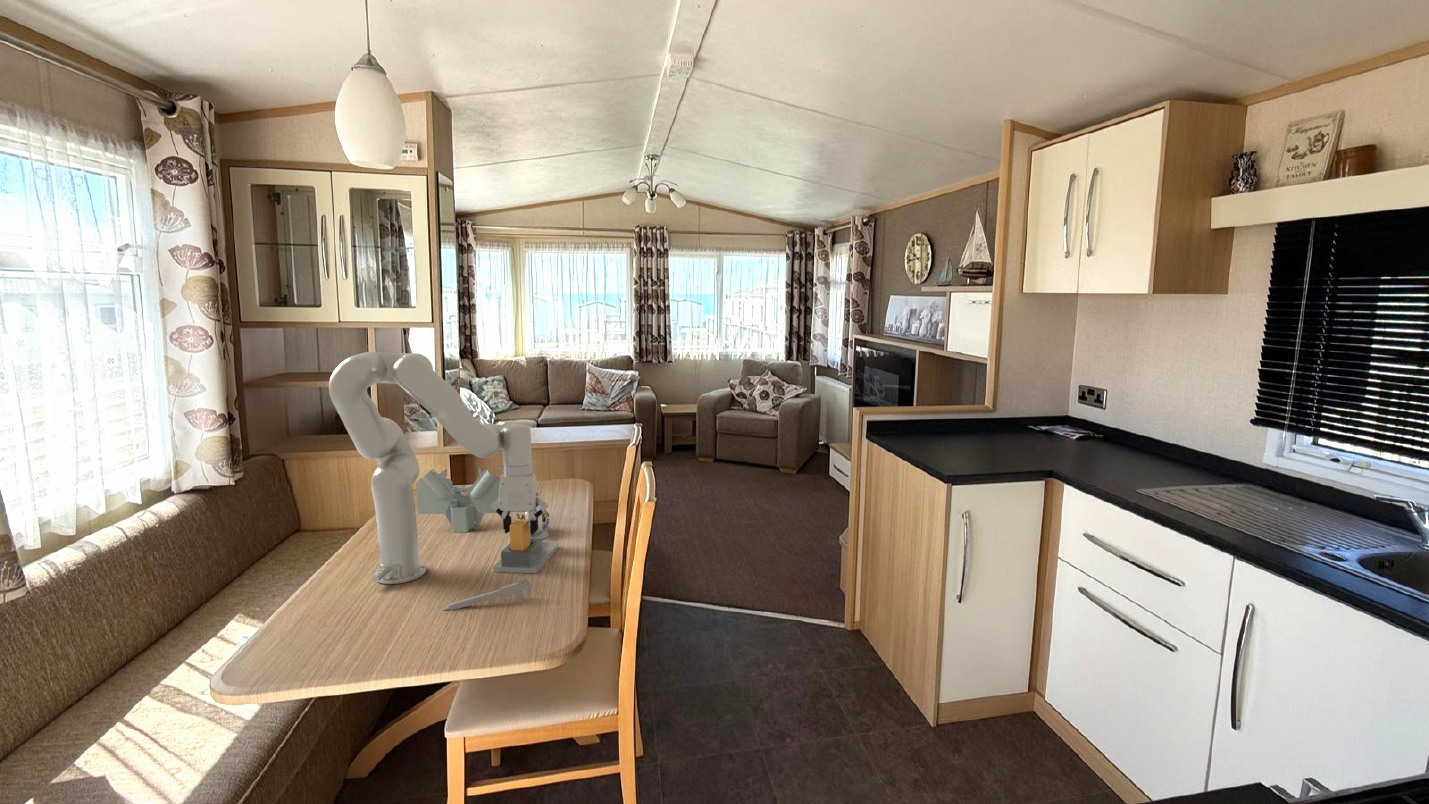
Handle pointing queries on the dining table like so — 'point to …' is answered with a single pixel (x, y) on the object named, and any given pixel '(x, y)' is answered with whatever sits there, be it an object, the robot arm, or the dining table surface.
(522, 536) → the tan rectangular block
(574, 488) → the dining table surface
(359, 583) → the dining table surface
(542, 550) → the gray socket post fixture
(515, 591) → the caliper
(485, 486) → the bracket
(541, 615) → the dining table surface
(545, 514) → the passion flower
